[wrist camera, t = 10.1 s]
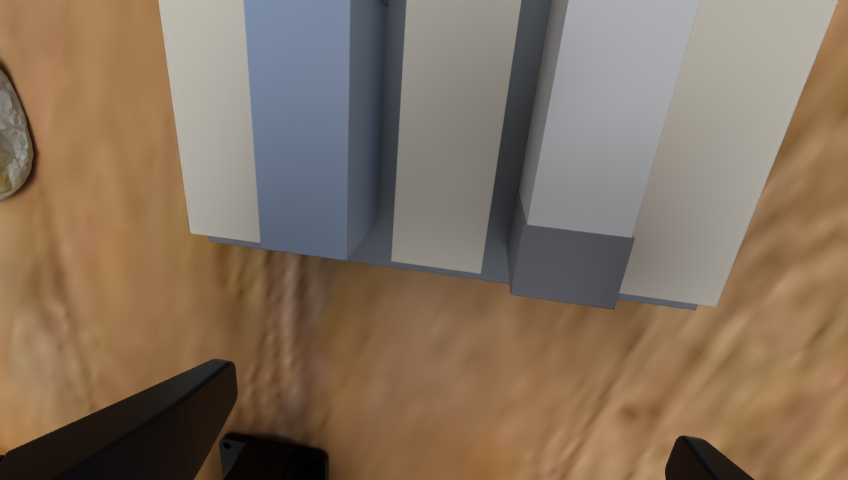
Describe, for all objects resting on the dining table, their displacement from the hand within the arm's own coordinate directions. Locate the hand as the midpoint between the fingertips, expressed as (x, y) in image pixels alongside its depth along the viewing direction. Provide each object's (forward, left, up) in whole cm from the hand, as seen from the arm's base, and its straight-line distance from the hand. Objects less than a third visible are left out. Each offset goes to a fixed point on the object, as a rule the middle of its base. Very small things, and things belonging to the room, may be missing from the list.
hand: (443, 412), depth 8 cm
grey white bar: (+5, -3, -10) cm, 11 cm away
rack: (+5, +1, -11) cm, 12 cm away
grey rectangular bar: (+5, +5, -10) cm, 12 cm away
